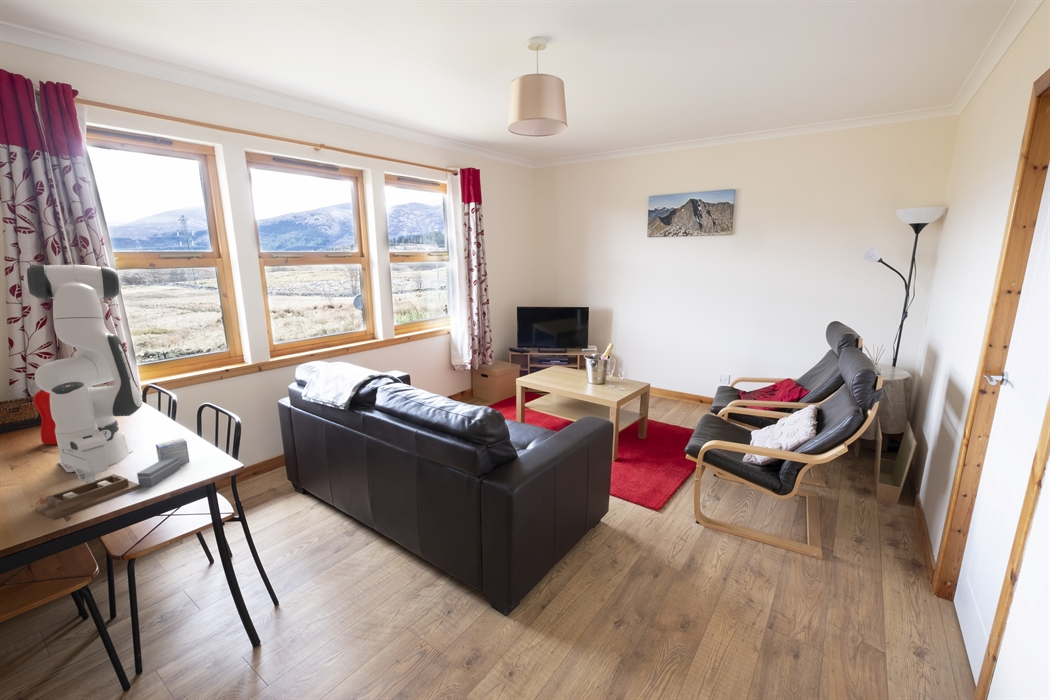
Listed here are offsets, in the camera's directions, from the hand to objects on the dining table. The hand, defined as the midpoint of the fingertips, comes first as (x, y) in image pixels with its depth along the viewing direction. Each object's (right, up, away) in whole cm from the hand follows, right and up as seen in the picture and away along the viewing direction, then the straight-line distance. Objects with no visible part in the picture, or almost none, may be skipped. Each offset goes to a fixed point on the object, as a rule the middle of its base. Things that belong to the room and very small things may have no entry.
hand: (87, 481), depth 135 cm
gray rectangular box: (+11, -3, +14) cm, 18 cm away
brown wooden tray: (0, -6, +1) cm, 6 cm away
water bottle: (-55, +3, +47) cm, 73 cm away
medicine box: (+8, -2, +23) cm, 25 cm away
